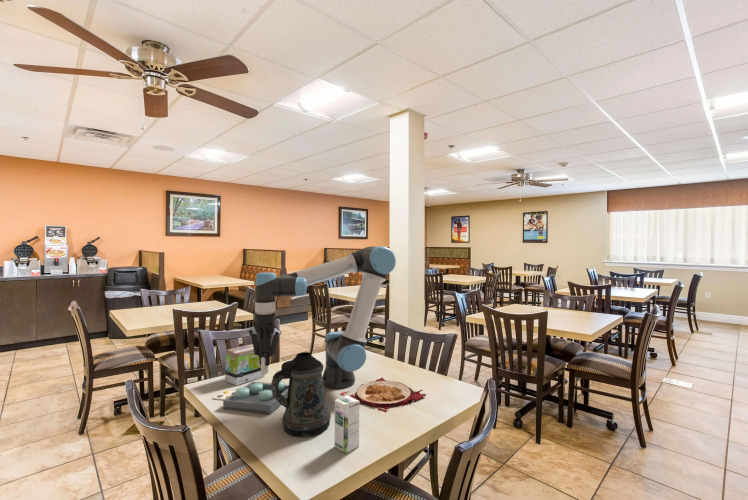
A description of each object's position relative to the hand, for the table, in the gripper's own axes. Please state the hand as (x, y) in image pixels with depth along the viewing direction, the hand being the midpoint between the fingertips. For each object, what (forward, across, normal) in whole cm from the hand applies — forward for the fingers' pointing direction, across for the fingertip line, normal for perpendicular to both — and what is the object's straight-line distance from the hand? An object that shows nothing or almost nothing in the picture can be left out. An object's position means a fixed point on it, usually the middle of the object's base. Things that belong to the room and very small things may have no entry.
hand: (264, 373), depth 138 cm
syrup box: (+13, -40, +19) cm, 46 cm away
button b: (+10, 0, 0) cm, 10 cm away
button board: (+13, +5, -5) cm, 15 cm away
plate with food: (+14, -42, -21) cm, 49 cm away
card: (+13, +21, -6) cm, 25 cm away
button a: (+10, 0, -10) cm, 14 cm away
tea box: (+13, +25, -25) cm, 38 cm away
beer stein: (+13, -21, +11) cm, 27 cm away
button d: (+10, +10, 0) cm, 14 cm away
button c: (+12, +10, -10) cm, 18 cm away
